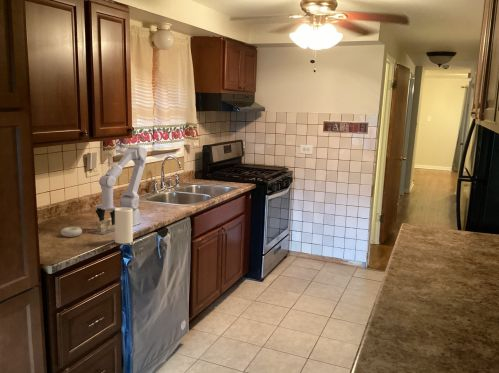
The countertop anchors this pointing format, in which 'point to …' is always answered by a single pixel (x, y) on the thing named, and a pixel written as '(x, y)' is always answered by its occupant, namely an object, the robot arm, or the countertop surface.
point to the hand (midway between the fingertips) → (107, 223)
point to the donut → (71, 231)
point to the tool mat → (103, 231)
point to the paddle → (104, 225)
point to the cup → (123, 225)
